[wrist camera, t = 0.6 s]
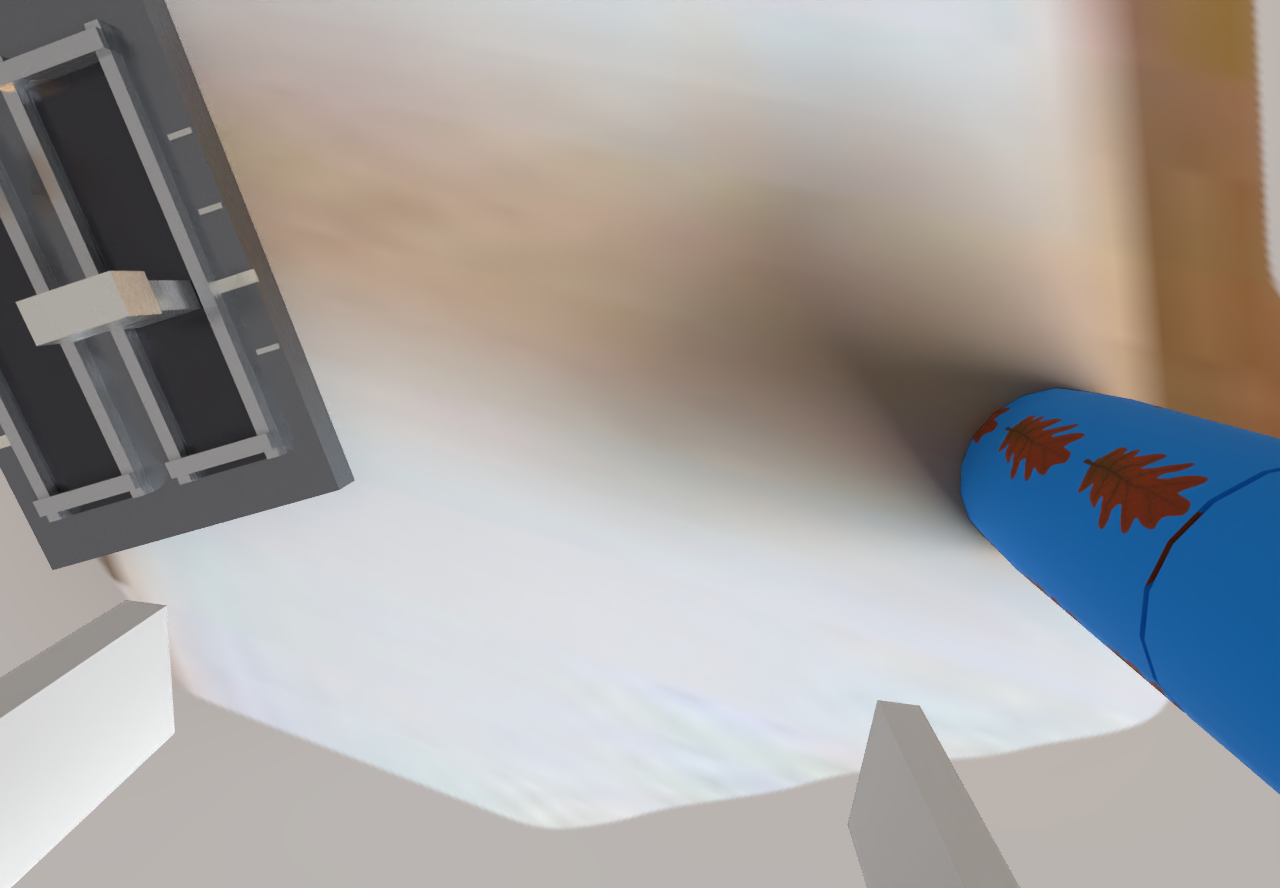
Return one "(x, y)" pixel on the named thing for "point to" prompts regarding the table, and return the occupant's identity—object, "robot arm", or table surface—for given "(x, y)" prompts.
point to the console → (165, 250)
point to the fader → (104, 306)
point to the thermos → (1148, 546)
